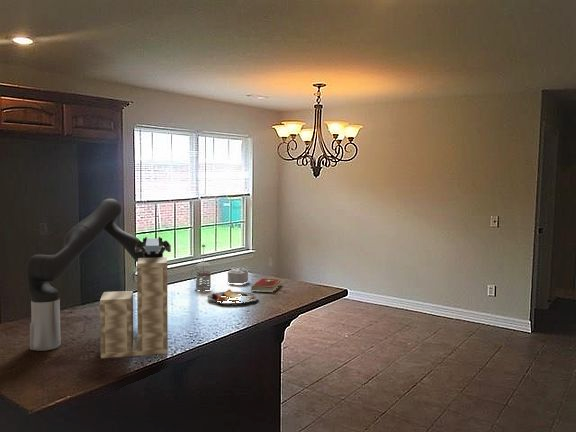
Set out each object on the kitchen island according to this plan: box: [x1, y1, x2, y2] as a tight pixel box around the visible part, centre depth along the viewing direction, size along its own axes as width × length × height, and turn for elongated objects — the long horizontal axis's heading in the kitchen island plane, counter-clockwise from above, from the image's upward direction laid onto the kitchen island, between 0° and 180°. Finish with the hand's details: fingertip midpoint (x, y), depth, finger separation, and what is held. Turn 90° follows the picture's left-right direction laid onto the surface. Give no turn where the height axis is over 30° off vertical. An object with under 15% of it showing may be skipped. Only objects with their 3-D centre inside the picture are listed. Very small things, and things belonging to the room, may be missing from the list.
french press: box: [190, 244, 212, 291], centre depth 274 cm, size 10×12×25 cm
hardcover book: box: [251, 277, 282, 291], centre depth 281 cm, size 12×21×4 cm, turn 169°
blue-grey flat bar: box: [146, 237, 159, 251], centre depth 182 cm, size 4×20×2 cm, turn 14°
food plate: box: [206, 289, 259, 306], centre depth 252 cm, size 25×23×4 cm
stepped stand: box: [99, 256, 169, 359], centre depth 177 cm, size 22×12×32 cm, turn 104°
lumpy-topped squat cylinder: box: [227, 267, 249, 283], centre depth 294 cm, size 10×13×9 cm
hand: (152, 239), depth 186 cm, fingers closed on blue-grey flat bar, 4 cm apart
